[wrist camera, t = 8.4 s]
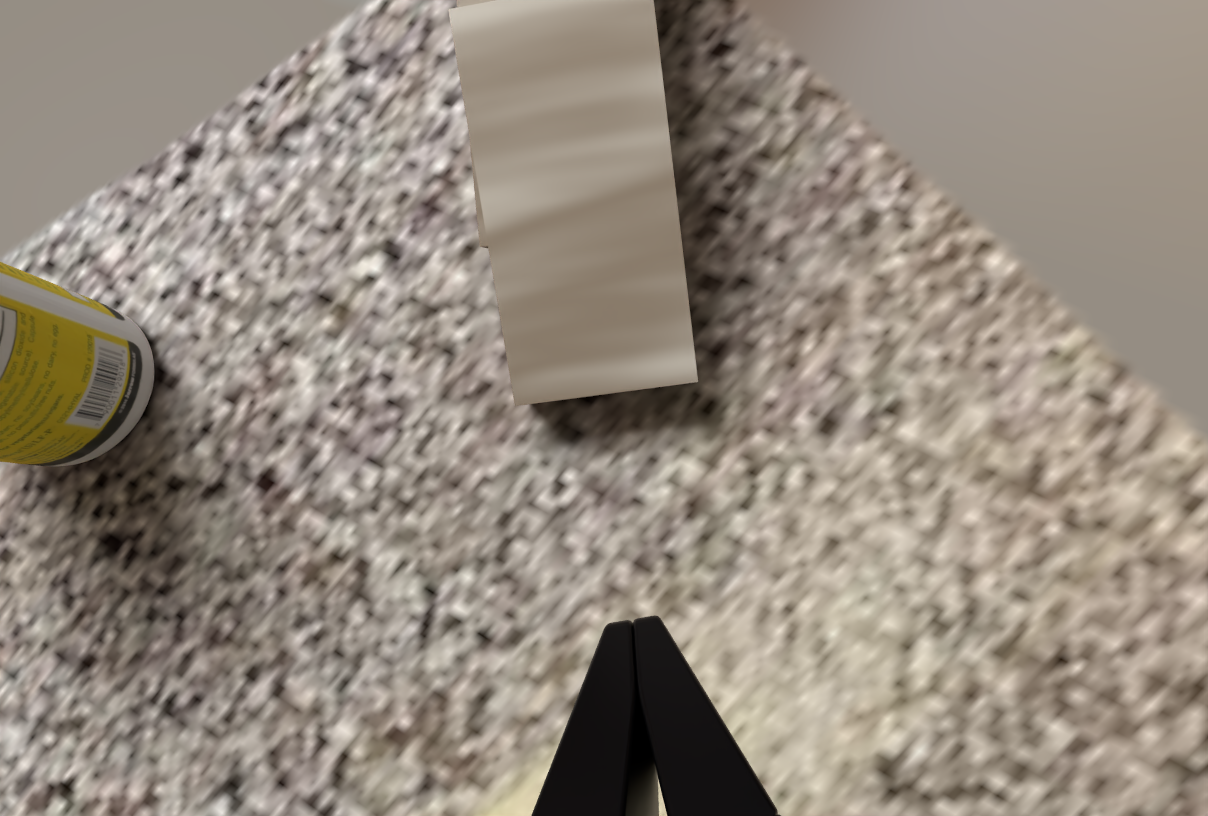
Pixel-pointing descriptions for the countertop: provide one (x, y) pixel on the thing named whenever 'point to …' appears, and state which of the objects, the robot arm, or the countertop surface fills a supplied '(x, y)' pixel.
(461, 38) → the domino
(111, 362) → the supplement bottle
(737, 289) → the countertop surface
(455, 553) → the countertop surface
